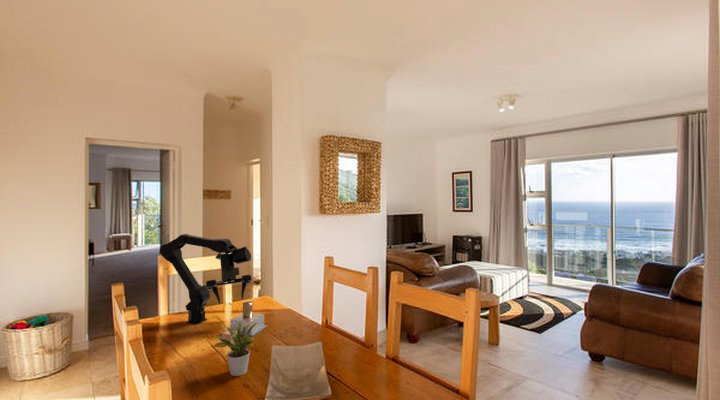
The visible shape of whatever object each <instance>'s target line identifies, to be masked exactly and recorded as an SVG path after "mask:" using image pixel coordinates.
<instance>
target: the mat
mask: <svg viewBox="0 0 720 400" xmlns="http://www.w3.org/2000/svg"><path fill="white" fill-rule="evenodd" d="M267 327H269V326H268V325H267V324H264V326H263V327H262V328H260V329H258V330H257V331H255V332H254V333H252V334H251V335H250V334H249V335H250V336H249V335H248V337H253V336H255V335H257V334H258V333H259V332H261V331H262V330H265V329H266V328H267ZM246 334H247V333H244V336H245V335H246ZM237 335H238V333H237ZM241 336H242V333H241Z"/></svg>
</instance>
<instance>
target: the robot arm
mask: <svg viewBox="0 0 720 400" xmlns="http://www.w3.org/2000/svg"><path fill="white" fill-rule="evenodd" d="M186 245H189V246H194V247H195V246H197V247H203V248H207V249H209V250H211V251H213V252H216V253H218V254H216V256H215V259H216V260H219V263H220V274H221V280H219V281H217V280H216V279H211V280H210V279H209V280H207V281H205V284H204V285H201V284H200V283H199V282H198V281H197V279H196V278H195V276H194V274H193V273H192V271H191V270H190V268H189V267H188V265H187V264H186V262H185V260H184V258H183V256H182V255H183V253H182V252H183V251H182V248H184V247H185V246H186ZM159 253H160V255H161V257H163V258H164V260H165V261H167V262H169V263H170V264H171V265H172V266H173V268H174V270H175V271H176V273H177V274H178V276H179V277H180V279H181V281H182V282H183V284H184V286H185V287H186V289H187V290H188V298H189V300H190V301H189V302H188V303H187V304H185V309H186V311H188V317H187V319H188V320H186V321H185V323H186V324H193V325H199V324H201V323H203V322H205V321H207V319H208V318H206V311H205V309H206V308H205V306H207V303H208V302H209V301H210V297H211V295H210V293H211V292H212V293H213V294H214V295H215V298H216V300H217V302H218V304H219V305H221V298H220V293H219V291H218V286H219V287H221V286H225V285H233V284H239V283H240V284H241V288H240V289H241V292H240V293H241V295H240V297H241V301H243V299H244V293H245V290H246V287H247V286H249V284H251V283H252V280H253V279H252V275H251V274H246V275H245V274H244V275H241V277H239V278H238V277H237V276H239V275H240V267H235V264H236V265H240V264H243V263H247V262H251V260H252V253H251V252H250V250H249V249H248V247H247V246H242V247H240V248H238V247H236V246H235V245H234V244H232V241H231V240H230V239H229V238H208V237H203V236H202V237H201V236H196V235H192V234H187V233H185V234H184V233H183V234H180V235H179V236H177V237H176V238H174V239H173V240H171V241H170V242H168V243H164V244H162V245H161V246H160V249H159Z"/></svg>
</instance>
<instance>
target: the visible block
mask: <svg viewBox="0 0 720 400" xmlns="http://www.w3.org/2000/svg"><path fill="white" fill-rule="evenodd" d="M233 332H234V331H233ZM235 332H236V334H237V331H235ZM224 333H225V334H226V335H225V334H224ZM234 334H235V333H234ZM227 335H228V336H229V337H230V338H231V339H230V338H229V337H228V336H227ZM237 335H238V334H237ZM232 336H233V335H232ZM232 336H231V334H230V332H229V331H228V330H227V329H226V331H223V333H222V332H221V337H222V338H224V339H226V340H228V341H230V342H231V343H232V344H233V345H234V344H235V342H234V340H233V339H232ZM235 336H236V335H235ZM232 341H233V342H234V343H233V342H232ZM221 343H223V342H222V341H221Z"/></svg>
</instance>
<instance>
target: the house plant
mask: <svg viewBox="0 0 720 400" xmlns="http://www.w3.org/2000/svg"><path fill="white" fill-rule="evenodd" d="M257 323H259V322H257ZM257 323H255V324H254V325H252V324H250V325H252V326H251V327H250V329H249V330H248V332H247V334H246V335H244V332H245V330H246V328H247V327H248V326H249V325H248V326H247V327H246V328H245V325H244V326H243V331H242V335H241V322H240V320H239V322H238V328H237V333H238V334H236V332H235V331H234V329H233V328H232V329H233V331H234V332H233V331H232V330H231V329H230V326H229V325H228V327H227V326H226V325H221V324H220V326H221V327H223V328H224V329H226V331H227V330H228V331H229V332H230V334H231V336H232V335H233V336H232V339H233V340H234V342H235V343H234V342H233V341H232V342H233V344H232V343H231V342H230V341H228V340H226V339H224V338H222V336H219V335H214V337H215V338H216V339H218V340H220V342H221V343H220V344H218V345H217V347H221V346H227V347H228V348H229V349H231V350H230V351H229V352H228V353H227V354H226V355H227V356H226V357H227V363H228V368H229V374H230V375H231V376H234V377H238V376H242V375H245V374H247V371H248V368H249V367H248V366H249V361H250V354H251V351H250V350H249V349H248V347H249V346H250V345H251V346H252V347H254V343H255V341H253V340H255V338H254V337H251V336H250V335H251V334H252V333H251V334H250V335H249V333H250V331H251V330H252V328H253V327H254V326H255V325H256V324H257ZM218 332H219V333H221V334H222V333H224V331H221V330H219V331H218ZM234 333H235V334H234ZM224 334H225V333H224ZM225 335H226V334H225ZM235 335H236V336H235ZM248 335H249V336H248ZM227 336H228V335H227ZM228 337H229V336H228ZM229 338H230V337H229ZM230 339H231V338H230ZM222 342H223V343H222Z"/></svg>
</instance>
